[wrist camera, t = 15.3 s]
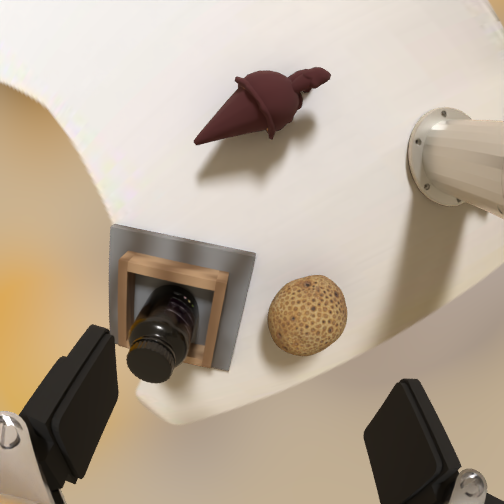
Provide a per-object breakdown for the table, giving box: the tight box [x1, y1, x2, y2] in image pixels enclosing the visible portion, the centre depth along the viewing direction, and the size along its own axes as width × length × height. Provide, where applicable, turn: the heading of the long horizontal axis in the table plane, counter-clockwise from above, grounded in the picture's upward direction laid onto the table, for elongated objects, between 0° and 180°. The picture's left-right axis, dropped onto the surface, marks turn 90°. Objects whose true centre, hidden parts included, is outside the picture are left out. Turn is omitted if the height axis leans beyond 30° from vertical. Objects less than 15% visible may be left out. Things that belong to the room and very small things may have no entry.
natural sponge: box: [268, 275, 347, 356], centre depth 35 cm, size 9×9×10 cm
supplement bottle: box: [126, 285, 199, 383], centre depth 34 cm, size 7×7×12 cm
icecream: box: [194, 67, 331, 145], centre depth 29 cm, size 7×7×15 cm
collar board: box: [109, 224, 256, 371], centre depth 38 cm, size 18×18×4 cm
